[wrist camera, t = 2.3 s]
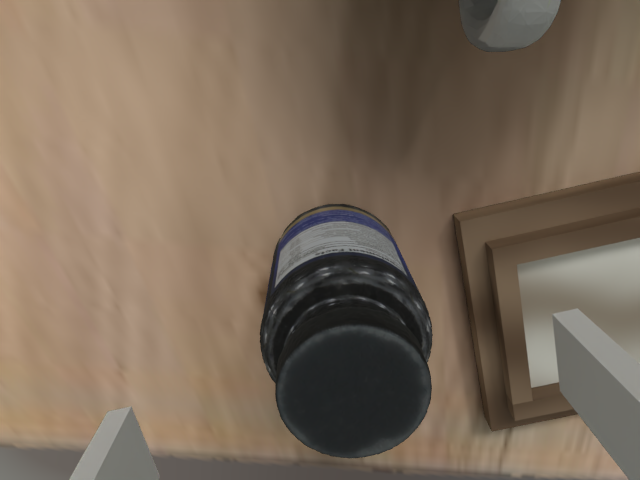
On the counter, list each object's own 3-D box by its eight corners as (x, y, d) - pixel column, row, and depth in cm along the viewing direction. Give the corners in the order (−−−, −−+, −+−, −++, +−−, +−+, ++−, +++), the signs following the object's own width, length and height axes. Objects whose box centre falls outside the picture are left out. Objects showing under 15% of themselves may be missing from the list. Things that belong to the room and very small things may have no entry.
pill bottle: (372, 329, 27) (412, 498, 17) (258, 298, 27) (226, 454, 16) (415, 220, 25) (490, 336, 15) (294, 183, 25) (284, 277, 14)
